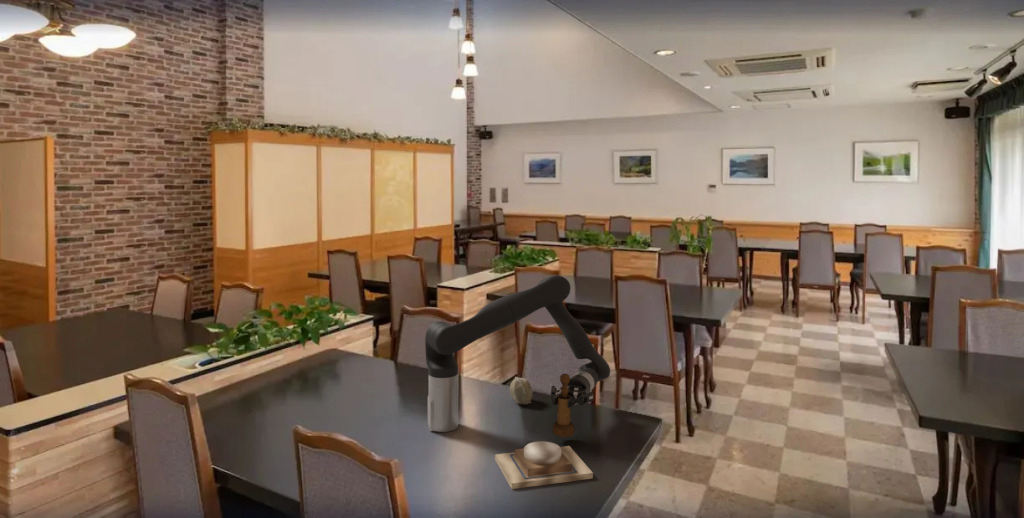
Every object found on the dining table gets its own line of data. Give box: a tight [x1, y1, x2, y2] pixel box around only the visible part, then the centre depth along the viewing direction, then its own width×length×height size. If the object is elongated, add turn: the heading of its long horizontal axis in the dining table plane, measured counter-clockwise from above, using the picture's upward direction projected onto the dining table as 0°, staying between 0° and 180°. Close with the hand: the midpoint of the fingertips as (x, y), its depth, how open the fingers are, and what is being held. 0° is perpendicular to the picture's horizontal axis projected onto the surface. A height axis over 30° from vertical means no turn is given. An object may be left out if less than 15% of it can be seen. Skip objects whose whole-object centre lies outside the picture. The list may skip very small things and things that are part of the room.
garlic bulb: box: [509, 376, 533, 405], centre depth 213 cm, size 9×8×10 cm
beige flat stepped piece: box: [494, 441, 594, 490], centre depth 163 cm, size 22×17×6 cm
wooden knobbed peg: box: [552, 373, 575, 438], centre depth 179 cm, size 7×6×18 cm
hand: (561, 403), depth 177 cm, fingers closed on wooden knobbed peg, 4 cm apart
